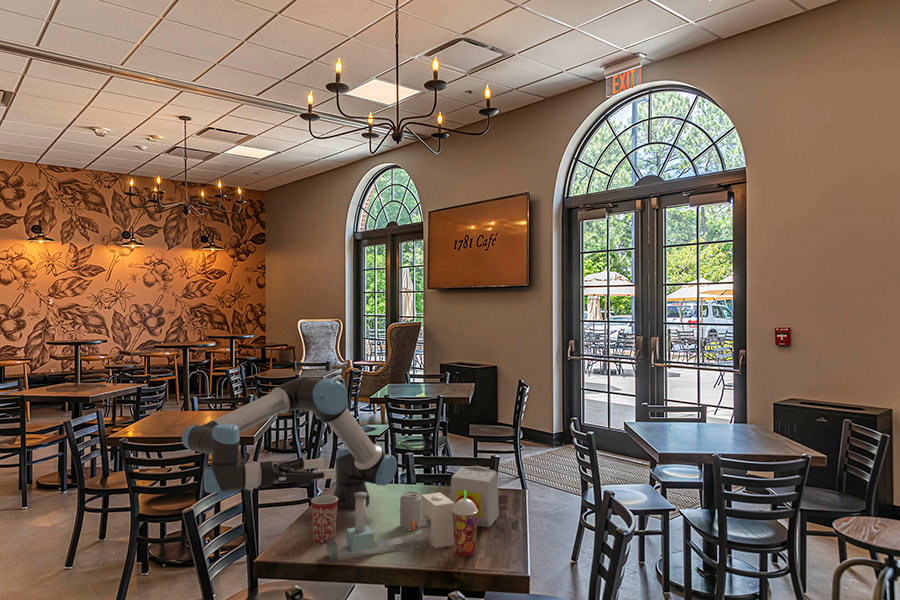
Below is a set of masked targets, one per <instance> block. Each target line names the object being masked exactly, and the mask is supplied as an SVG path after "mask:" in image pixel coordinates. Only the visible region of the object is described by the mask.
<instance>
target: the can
mask: <svg viewBox="0 0 900 600" xmlns="http://www.w3.org/2000/svg"><path fill="white" fill-rule="evenodd" d="M399 502H400V505H399V508H400V509H399V513H400V514H399V525H400V527H401V528H402V529H403V528H404V529H403V530H406V529H410V521H413V520H414V521H415V522H419V521H421V496H420V493H419V492H417V491H405V492H403V493H402V494H401V496H400V501H399Z"/></svg>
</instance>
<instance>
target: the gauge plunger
mask: <svg viewBox="0 0 900 600" xmlns="http://www.w3.org/2000/svg"><path fill="white" fill-rule="evenodd" d="M429 527H431V520H425V521H419V522H415V521H414V520H413V521H410V529H411V530H410V532H411V533H415V532H416V530H421V529H423V528H429Z"/></svg>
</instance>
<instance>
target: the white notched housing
mask: <svg viewBox="0 0 900 600" xmlns="http://www.w3.org/2000/svg"><path fill="white" fill-rule="evenodd" d="M420 497H421V521H425V520H431V527H429V528H423V529H420V532H421V533H420V534H422V535H423V536H424V537H425V538H426V539H427V542H428V544H429V545H431V546H432V547H433V548H434V549H440V548H444V547H451V546H454V532H453V512H452V509H453V508H454V506H455V503H454V502H453V501H451V498H449V497H448V496H445V495H444V494H443V493H442V492H440V491H439V492H432V493H426V494H421V496H420ZM439 547H440V548H439Z"/></svg>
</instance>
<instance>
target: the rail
mask: <svg viewBox="0 0 900 600" xmlns="http://www.w3.org/2000/svg"><path fill="white" fill-rule="evenodd" d="M427 542H428V541H427V539H426V538H425V537H424V536H423V535H422V534H421V533H418V534H412V535H407V536H401V537H395V538H389V539H388V538H387V539H382V540H381V539H380V540H376V541H375V540H374V549H370V550H364V551H358V552H352V551H351V550H350V548H349V547H348V546H347V545H346V546H345V545H344V546H340V547H339V545H338V543H337V541H336V540H335V539H333V538H332V539H327V543H326V556H327V558H328V559H329V561H330V563H336V562H339V561H344V560H349V558H350V559H354V558H353V557H356V558H359V557H358V556H362V557H365V556H364V555H367V556H370V555H369V554H373V555H376V554H375V553H379V554H382V553H381V552H385V553H388V551H390V552H394V551H393V550H396V551H400V550H399V549H402V550H405V549H404V548H408V549H411V548H410V547H413V548H417V547H416V546H419V547H423V545H425V546H427Z"/></svg>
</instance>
